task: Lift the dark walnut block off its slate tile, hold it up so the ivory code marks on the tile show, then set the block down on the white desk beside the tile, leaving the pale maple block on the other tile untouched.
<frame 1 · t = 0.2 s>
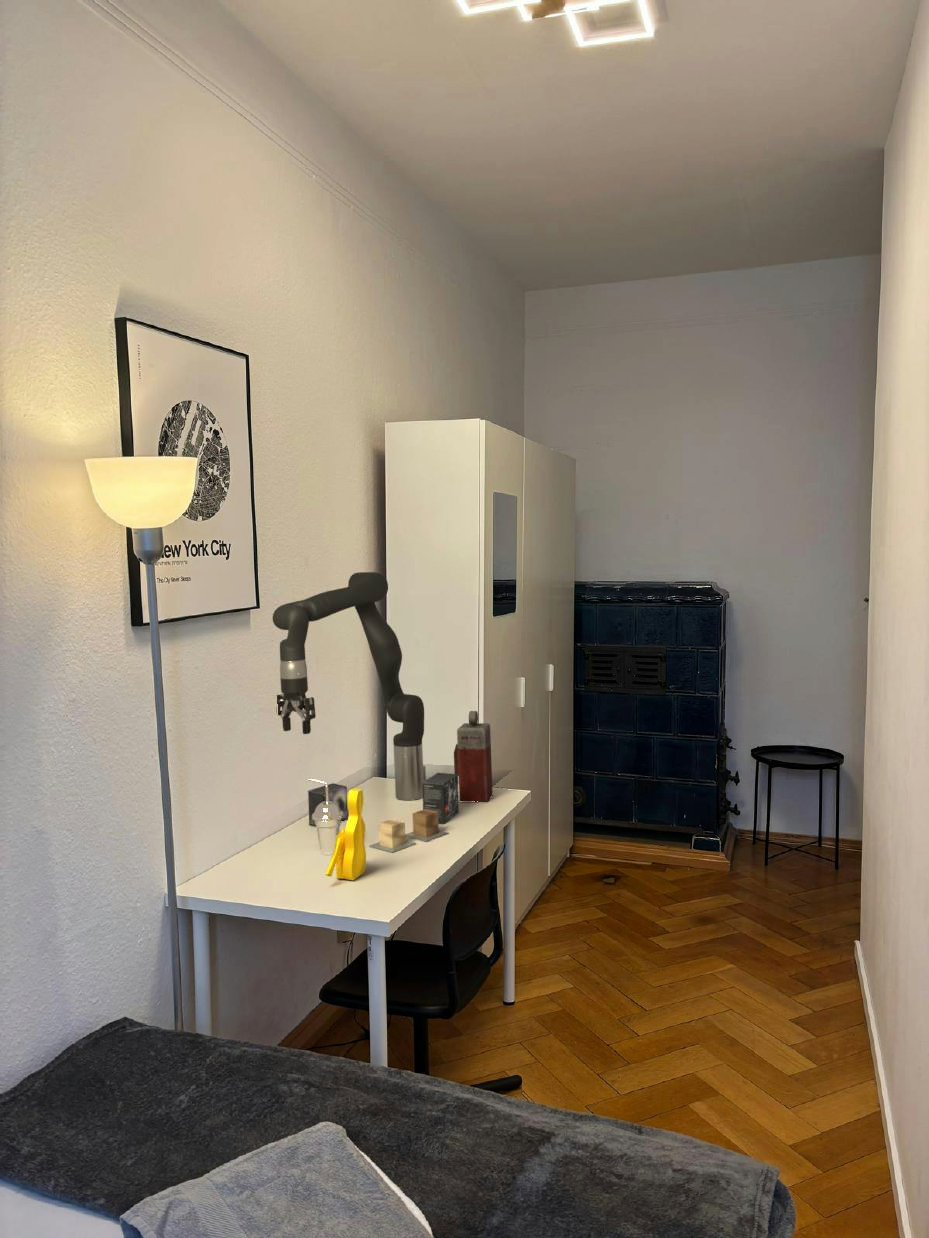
hand: (296, 732, 272), 29 cm above the table, tool pointing down, fingers open, 8 cm apart
figure statuette: (351, 877, 236), on the table
walnut block: (426, 833, 267), resting on code tile A
code tile A: (426, 834, 267), on the table
cup with straw: (328, 852, 255), on the table
small box: (329, 823, 282), on the table
red grey bottle: (472, 798, 303), on the table
small box 2: (441, 818, 283), on the table
code tile B: (392, 845, 259), on the table
maple block: (392, 844, 259), resting on code tile B
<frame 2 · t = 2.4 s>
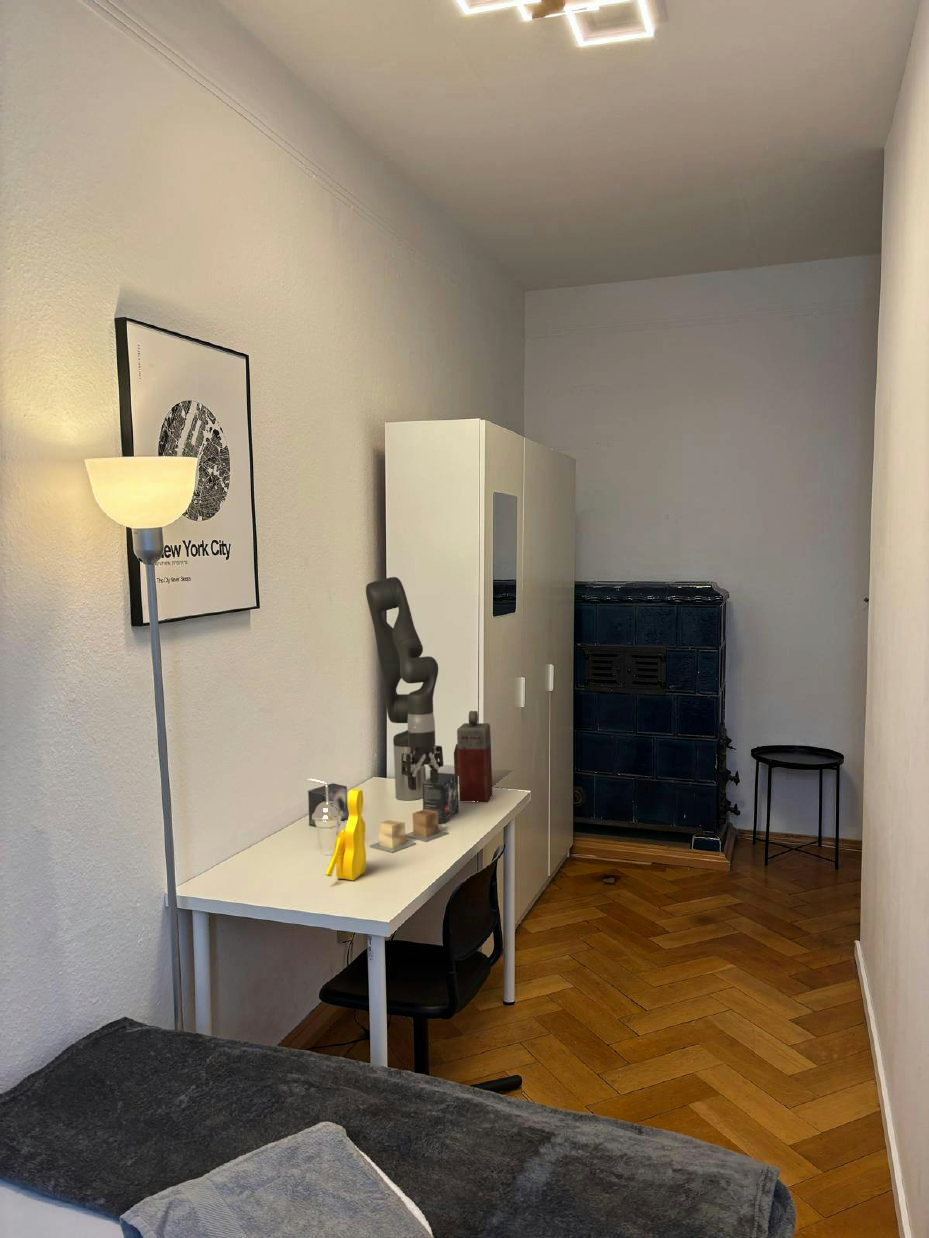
hand: (423, 786, 266), 14 cm above the table, tool pointing down, fingers open, 8 cm apart
nothing on the table moved.
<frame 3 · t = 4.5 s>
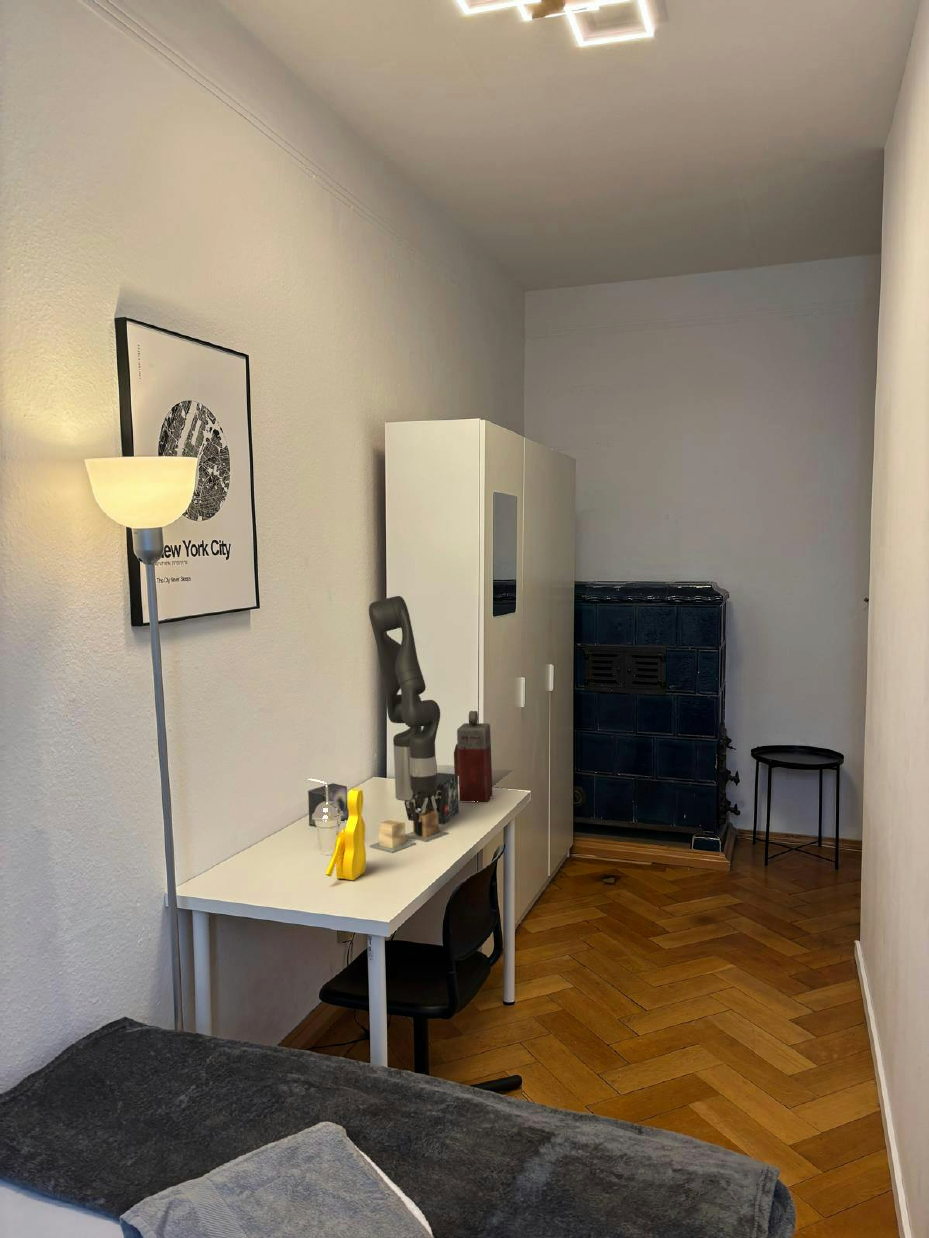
hand: (425, 831, 267), 1 cm above the table, tool pointing down, fingers closed on walnut block, 5 cm apart
walnut block: (426, 833, 267), resting on code tile A, touching gripper
everything else where it was.
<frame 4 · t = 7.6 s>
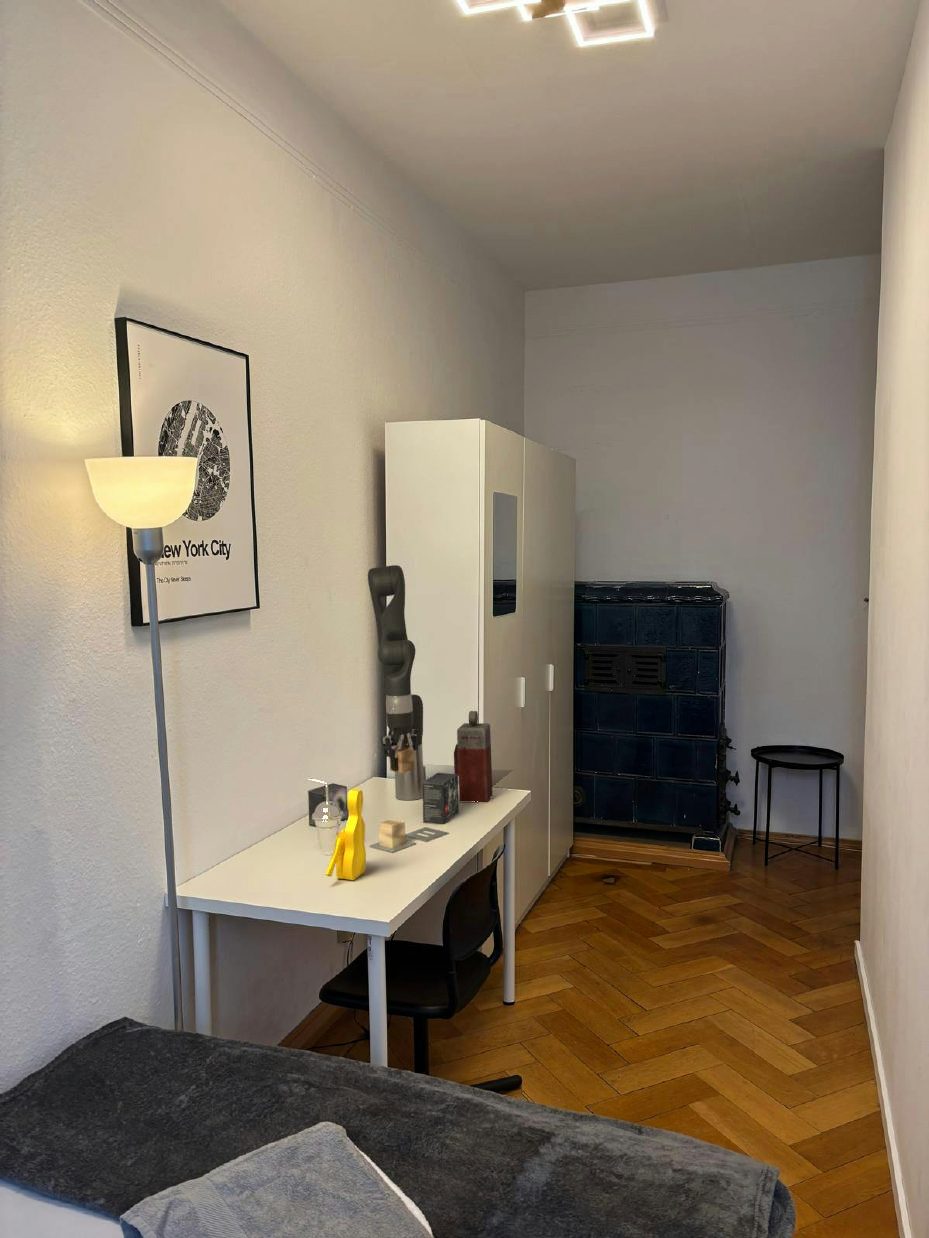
hand: (402, 768, 274), 17 cm above the table, tool pointing down, fingers closed on walnut block, 5 cm apart
walnut block: (402, 769, 275), point 16 cm above the table, touching gripper
everything else where it was.
when the fingers open (2 cm above the table, at t = 10.8 s): walnut block drops 1 cm, on the table.
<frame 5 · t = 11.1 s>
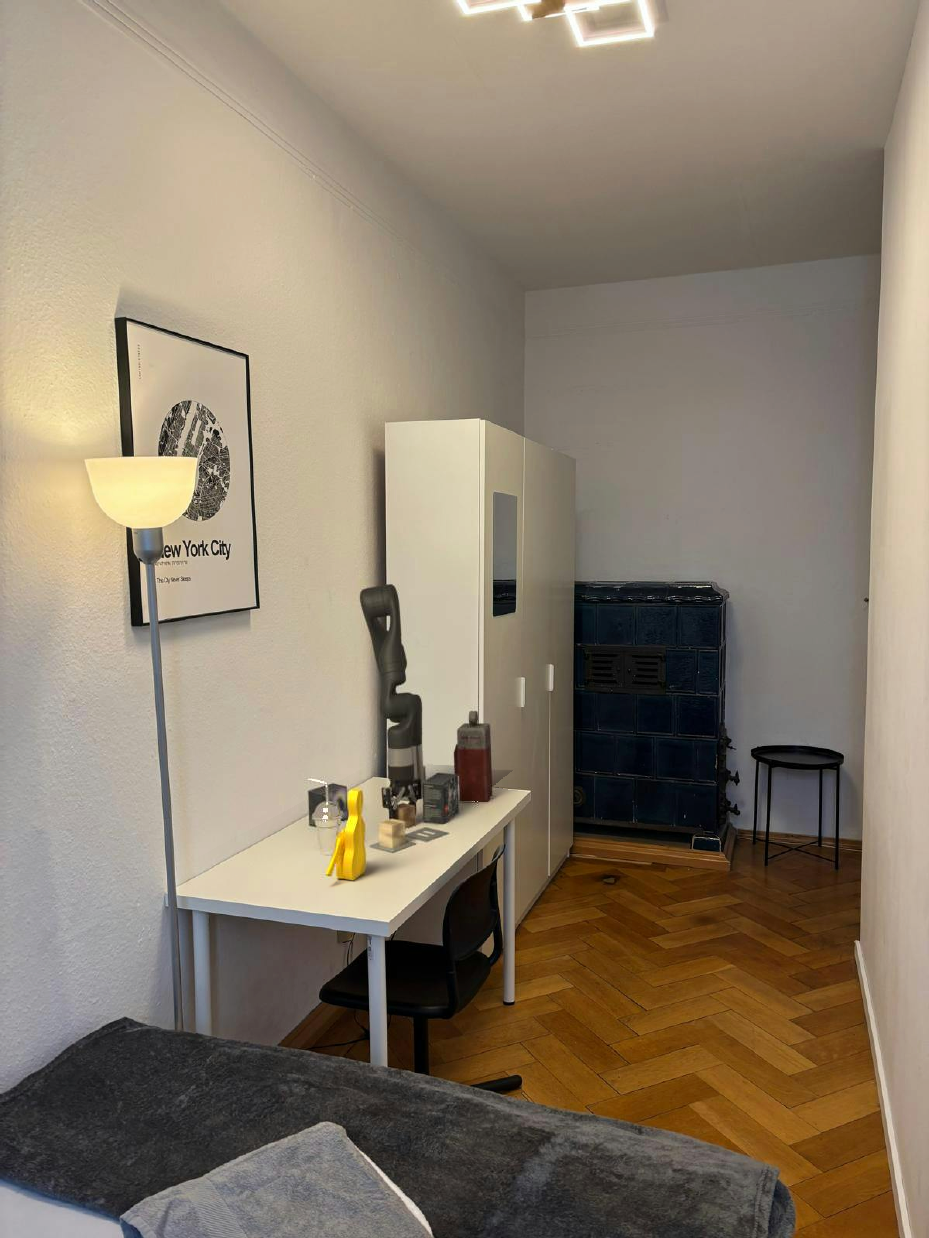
hand: (402, 818, 276), 2 cm above the table, tool pointing down, fingers open, 7 cm apart
walnut block: (403, 826, 276), on the table
everything else where it was.
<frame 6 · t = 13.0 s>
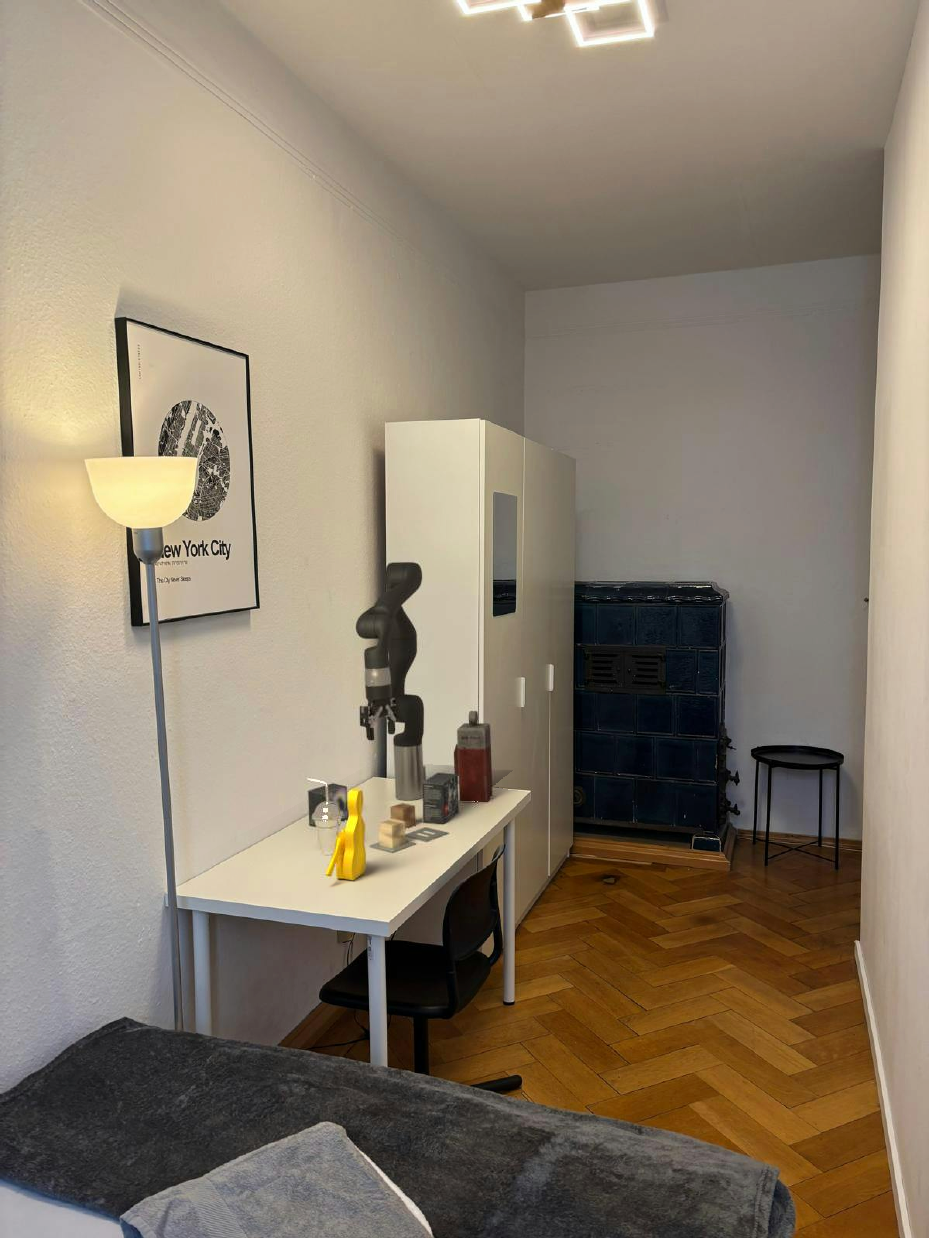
hand: (381, 737, 281), 25 cm above the table, tool pointing down, fingers open, 8 cm apart
nothing on the table moved.
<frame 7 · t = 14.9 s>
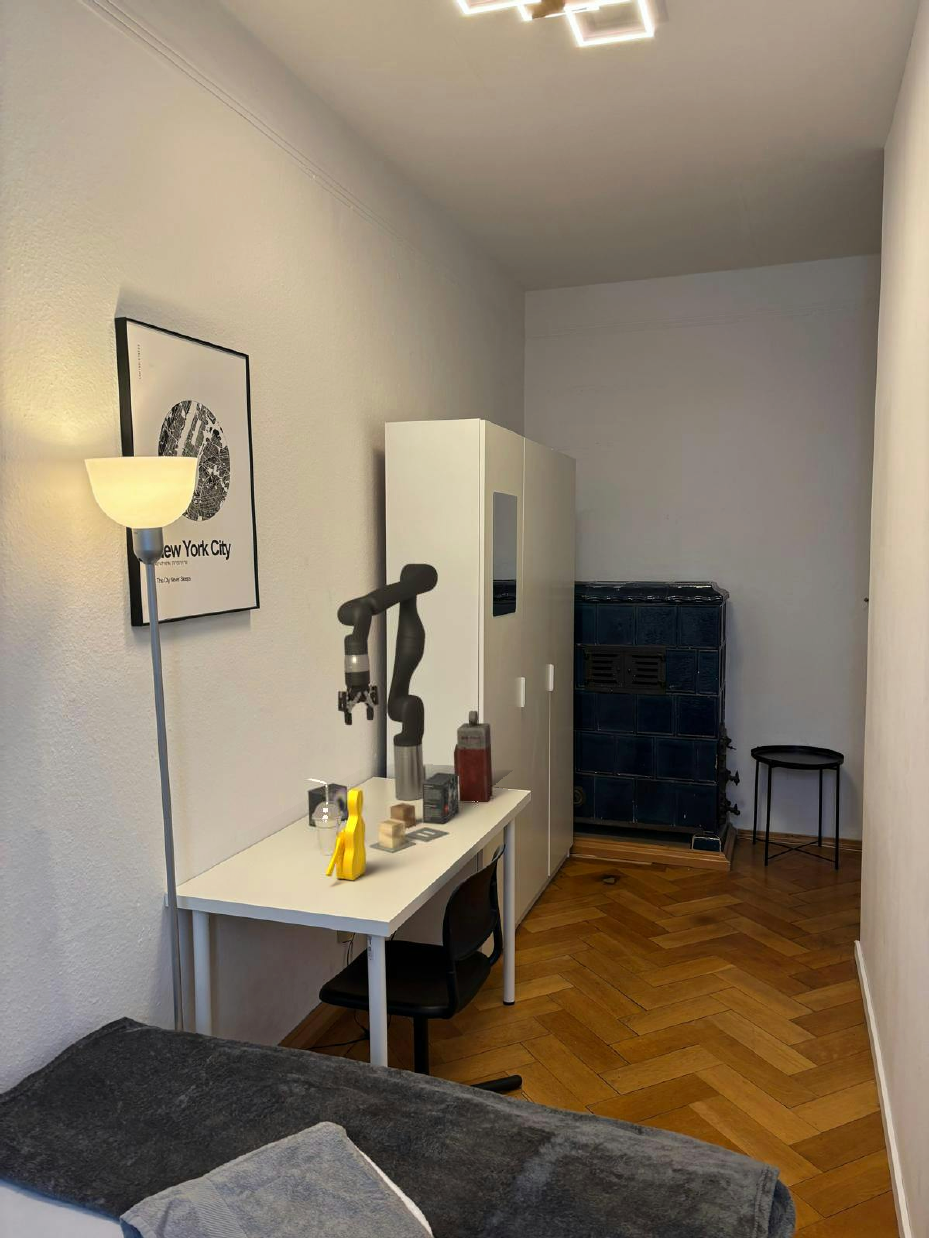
hand: (359, 722, 288), 28 cm above the table, tool pointing down, fingers open, 8 cm apart
nothing on the table moved.
at the end: walnut block inside the target area (0.1 cm from its centre), on the table; walnut block tilted 0°; maple block moved 0.1 cm from its start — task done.
